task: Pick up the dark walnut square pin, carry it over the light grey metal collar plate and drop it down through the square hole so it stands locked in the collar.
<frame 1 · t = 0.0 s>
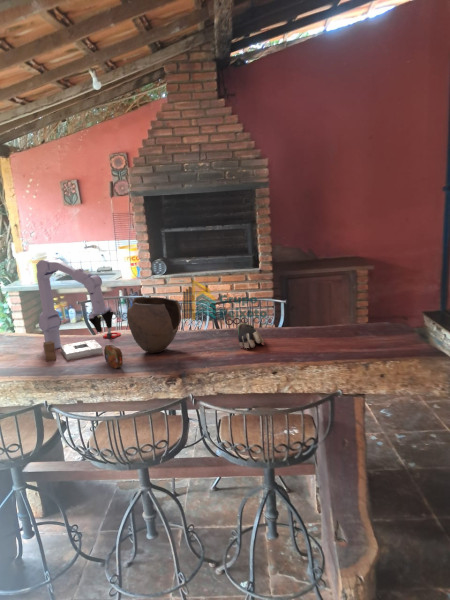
hand: (104, 329, 210), 11 cm above the bar counter, tool pointing down, fingers open, 7 cm apart
tow hook: (112, 336, 239), on the bar counter
clay pot: (157, 351, 208), on the bar counter
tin: (114, 366, 192), on the bar counter
glove: (250, 343, 214), on the bar counter
pin: (50, 359, 204), on the bar counter
collar: (81, 352, 212), on the bar counter
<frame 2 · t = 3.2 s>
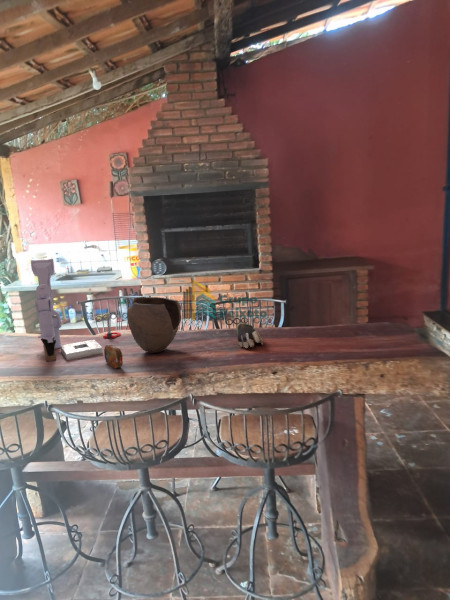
hand: (50, 354, 204), 2 cm above the bar counter, tool pointing down, fingers closed on pin, 4 cm apart
pin: (50, 359, 204), on the bar counter, touching gripper
when the fingers open (5 cm above the bar counter, at t = 6.9 s): pin drops 2 cm, resting in collar.
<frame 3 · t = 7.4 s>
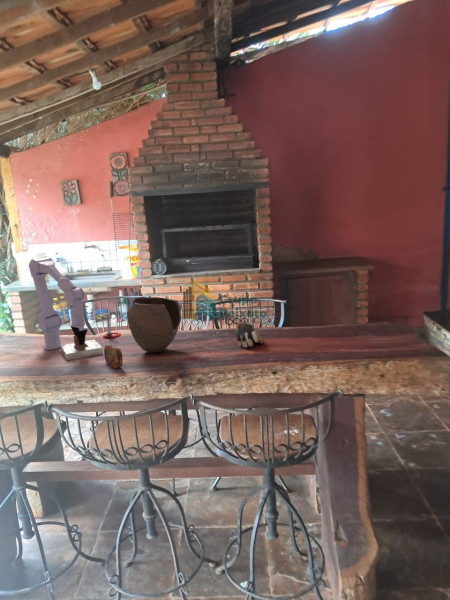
hand: (80, 342, 211), 5 cm above the bar counter, tool pointing down, fingers open, 7 cm apart
pin: (80, 352, 212), resting in collar
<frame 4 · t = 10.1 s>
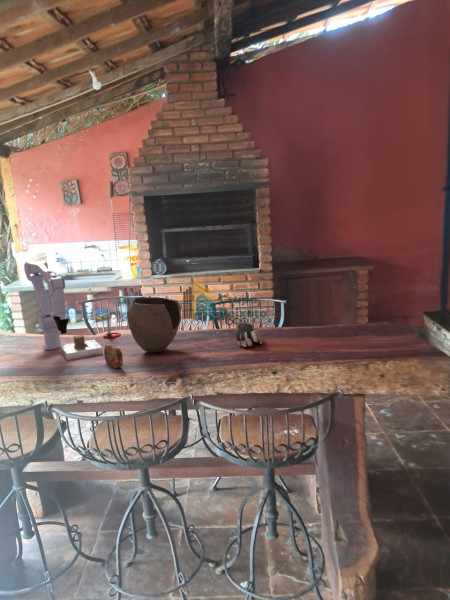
hand: (62, 332, 210), 10 cm above the bar counter, tool pointing down, fingers open, 7 cm apart
at the end: pin 0.4 cm off-centre on the collar, point 0.0 cm above the collar's base; pin tilted 0°; the gripper is holding nothing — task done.
